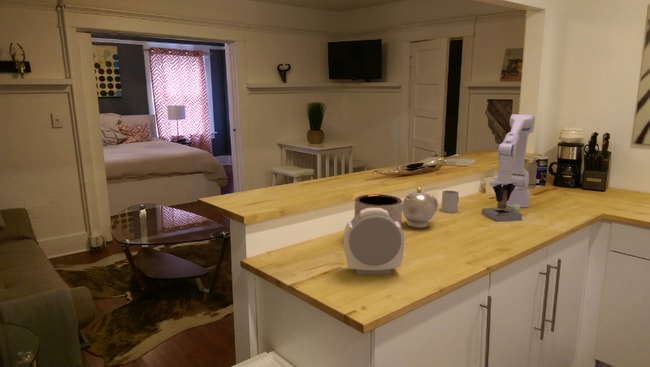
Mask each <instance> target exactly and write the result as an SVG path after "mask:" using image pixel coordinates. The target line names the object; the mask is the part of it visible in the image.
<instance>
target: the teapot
mask: <svg viewBox="0 0 650 367" xmlns="http://www.w3.org/2000/svg"><path fill="white" fill-rule="evenodd" d="M422 190H423V189H422V187H419V186H418V187H417V188H416V191H413V192H410V193H408V195H407V194H406V196H405V198H403V200H402V216H404V218H405V219H406V220H407V221H406V225H407V226H408V227H409V228H414V229H425V228H427V227H429V222H430V221H431V220H432V219H433V217H434V216H435V215H436V213H437V211H438V208H439V202H438V200H437V198H436V197H434V196H431V195H430V194H429V193H427V192H425V191H422Z"/></svg>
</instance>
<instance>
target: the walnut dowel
mask: <svg viewBox="0 0 650 367" xmlns="http://www.w3.org/2000/svg"><path fill="white" fill-rule="evenodd" d="M507 191H508V190H505V189H504V192H503V195H502V201H501V202H498V201H497V206H496V208H500V209H506V207H507V206H506V203H507Z"/></svg>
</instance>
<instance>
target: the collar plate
mask: <svg viewBox="0 0 650 367" xmlns="http://www.w3.org/2000/svg"><path fill="white" fill-rule="evenodd" d="M481 214H482V216H483V215H484V216H485V217H487V218H489V219H491V220H492V221H494V222H508V221H510V222H511V221H522V220H523V219H522V218H523V214H521V213H518V212H515V211H513V210H511V208H510V207H508V206H506V209H500V208H497V207H488V208H487V207H486V208H481Z"/></svg>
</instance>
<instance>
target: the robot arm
mask: <svg viewBox="0 0 650 367" xmlns="http://www.w3.org/2000/svg"><path fill="white" fill-rule="evenodd" d="M535 121H536V118H535V115H534V114H522V113H521V114H518V113H517V114H515V113H512V114H511V115H510V118H509V126H510V131H509V132H508V133H506V135H505V137H504V139H503V141H502V142H501V143H499V144H498V148H497V159H498V170H497V177H496V179H495V180H492V181H491V180H490V181H489V187H492V189H493V191H494V195H495V198H496V202H497V203H498V202H501V201H502V195H503V192H504V189H505V190H508V191H507V203H506V207H508V208H511V206H512V204H518V205H520V208H529V207H530V205H529V203H530V190H529V188H528V186H529V182H530V173H529V171H528V170H526V169H525V167H524V166H525V161H526V160H525V159H526V151H527V144H528V138H529V135H530V134H531V133H533V132H534V129H535Z"/></svg>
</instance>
